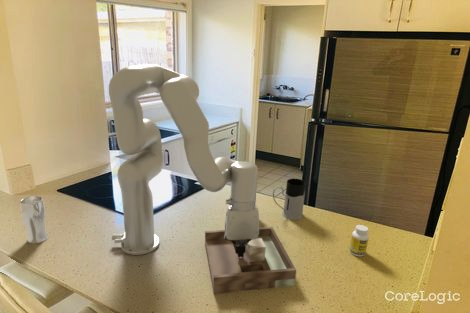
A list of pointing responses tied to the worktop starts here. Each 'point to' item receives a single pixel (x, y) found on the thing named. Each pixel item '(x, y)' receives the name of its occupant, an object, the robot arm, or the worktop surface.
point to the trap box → (247, 264)
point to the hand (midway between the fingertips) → (240, 254)
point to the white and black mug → (293, 199)
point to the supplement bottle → (359, 241)
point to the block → (255, 250)
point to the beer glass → (34, 218)
